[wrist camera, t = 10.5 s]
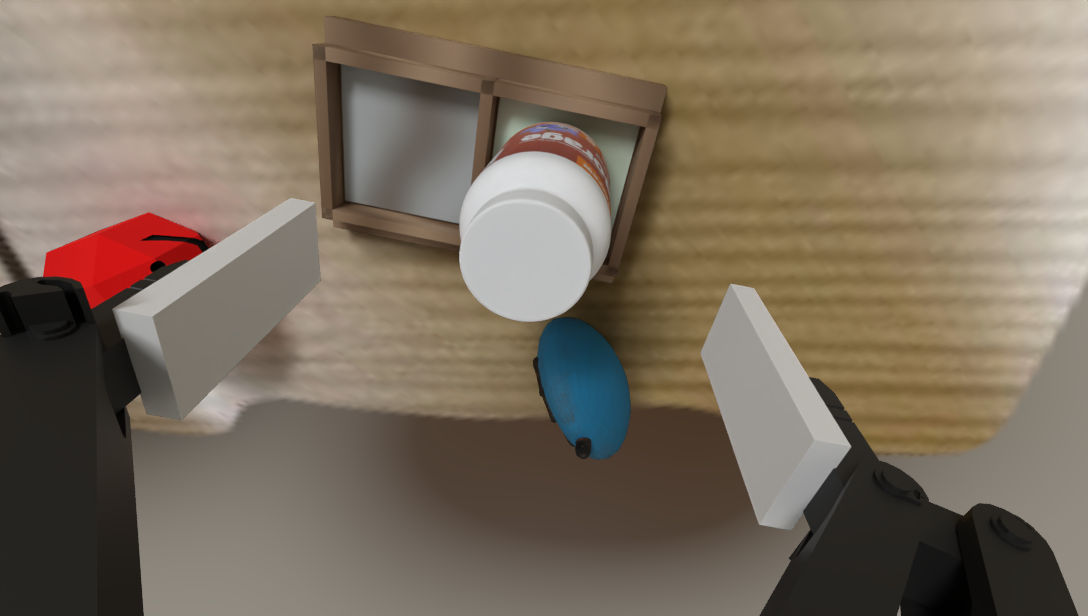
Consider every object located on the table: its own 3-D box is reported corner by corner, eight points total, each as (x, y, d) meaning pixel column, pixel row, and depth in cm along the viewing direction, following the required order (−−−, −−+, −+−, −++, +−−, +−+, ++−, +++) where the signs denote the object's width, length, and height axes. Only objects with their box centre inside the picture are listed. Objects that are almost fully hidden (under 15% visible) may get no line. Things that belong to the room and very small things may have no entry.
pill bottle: (632, 159, 26) (653, 240, 16) (571, 252, 29) (557, 366, 19) (529, 94, 25) (485, 138, 15) (476, 197, 27) (410, 289, 18)
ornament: (522, 314, 33) (496, 419, 24) (582, 283, 31) (576, 383, 23) (586, 399, 36) (583, 518, 27) (643, 374, 34) (659, 492, 26)
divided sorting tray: (342, 219, 30) (321, 236, 28) (335, 16, 25) (308, 15, 22) (611, 274, 31) (612, 295, 28) (664, 84, 25) (671, 91, 23)
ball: (273, 300, 34) (197, 367, 27) (183, 326, 36) (91, 394, 29) (200, 191, 30) (92, 238, 24) (105, 226, 32) (-21, 279, 26)
